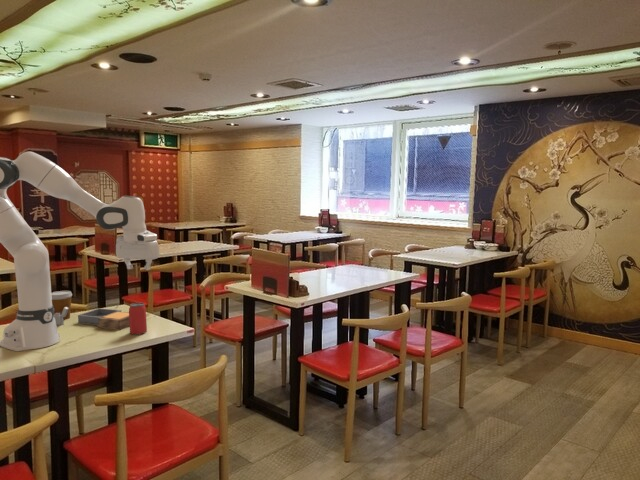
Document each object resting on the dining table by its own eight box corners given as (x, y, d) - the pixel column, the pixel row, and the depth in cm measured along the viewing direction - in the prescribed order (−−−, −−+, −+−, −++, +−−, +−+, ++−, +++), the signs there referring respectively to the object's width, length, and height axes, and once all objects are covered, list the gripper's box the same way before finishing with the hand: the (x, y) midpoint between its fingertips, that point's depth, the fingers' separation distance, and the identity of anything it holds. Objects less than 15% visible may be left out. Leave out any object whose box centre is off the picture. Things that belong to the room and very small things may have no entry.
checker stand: (98, 327, 206) (97, 318, 206) (117, 320, 217) (117, 311, 217) (120, 329, 202) (120, 320, 202) (139, 322, 213) (138, 313, 213)
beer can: (141, 335, 195) (139, 306, 193) (126, 334, 196) (125, 305, 195) (150, 330, 201) (148, 302, 200) (135, 329, 202) (134, 302, 201)
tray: (78, 322, 213) (77, 315, 212) (99, 315, 225) (99, 308, 224) (101, 325, 209) (100, 317, 208) (121, 317, 221) (121, 310, 220)
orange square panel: (102, 319, 207) (102, 317, 206) (117, 314, 215) (117, 311, 215) (119, 321, 204) (119, 319, 204) (134, 316, 212) (134, 313, 212)
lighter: (52, 325, 209) (51, 307, 209) (55, 324, 211) (54, 306, 210) (67, 325, 209) (66, 307, 208) (70, 324, 210) (69, 306, 209)
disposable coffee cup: (54, 316, 224) (53, 291, 222) (76, 315, 225) (75, 290, 224) (47, 321, 214) (45, 295, 213) (70, 320, 216) (68, 294, 215)
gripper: (110, 236, 195) (113, 270, 197) (148, 237, 186) (152, 272, 188) (122, 234, 200) (125, 267, 202) (160, 235, 192) (163, 268, 194)
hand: (138, 269), depth 195 cm, fingers open, 8 cm apart
